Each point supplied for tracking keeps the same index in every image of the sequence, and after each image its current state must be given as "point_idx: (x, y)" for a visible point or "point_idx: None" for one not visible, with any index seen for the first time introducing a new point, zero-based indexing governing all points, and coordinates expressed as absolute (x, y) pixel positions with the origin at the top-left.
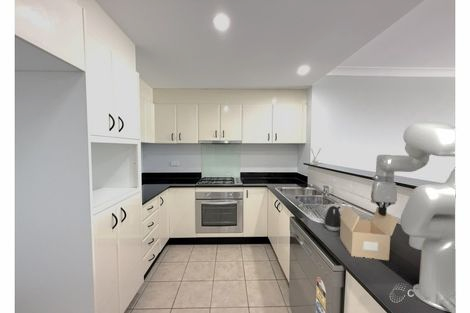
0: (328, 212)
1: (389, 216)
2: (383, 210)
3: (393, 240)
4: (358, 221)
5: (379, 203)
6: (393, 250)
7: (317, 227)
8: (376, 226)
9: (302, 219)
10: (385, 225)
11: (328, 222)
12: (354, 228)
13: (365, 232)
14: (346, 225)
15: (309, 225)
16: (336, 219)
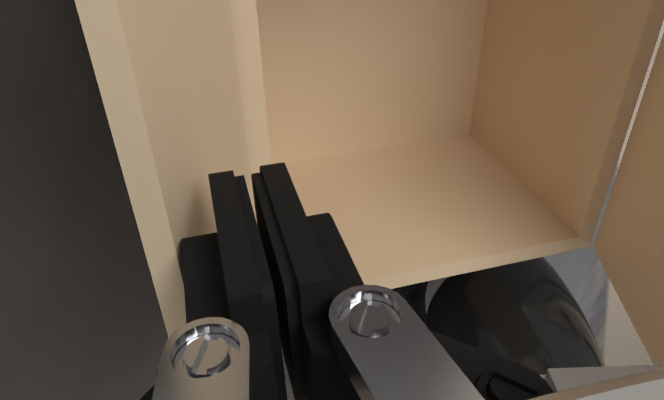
0: (602, 358)
1: (147, 59)
2: (276, 243)
3: (20, 267)
4: (412, 257)
5: (470, 391)
6: (63, 43)
7: (560, 261)
8: (268, 149)
9: (601, 342)
10: (209, 2)
11: (557, 274)
12: (414, 200)
13: (303, 200)
14: (652, 32)
15: (600, 271)
16: (526, 303)
